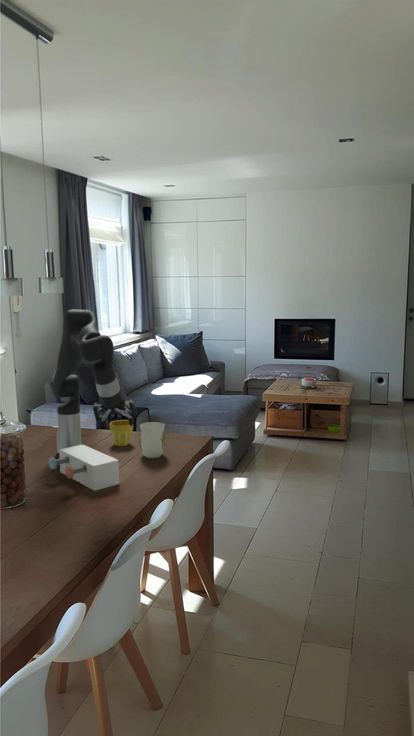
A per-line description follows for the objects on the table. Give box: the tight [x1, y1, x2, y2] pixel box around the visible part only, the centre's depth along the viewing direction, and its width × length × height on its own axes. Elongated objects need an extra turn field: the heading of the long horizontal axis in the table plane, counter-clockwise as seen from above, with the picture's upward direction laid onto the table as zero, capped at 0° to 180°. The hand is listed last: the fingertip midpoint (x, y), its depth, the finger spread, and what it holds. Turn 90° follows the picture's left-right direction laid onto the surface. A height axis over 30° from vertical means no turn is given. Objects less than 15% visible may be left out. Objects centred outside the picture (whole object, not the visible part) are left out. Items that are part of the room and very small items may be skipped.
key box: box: [58, 444, 120, 492], centre depth 214 cm, size 10×26×9 cm, turn 41°
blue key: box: [48, 456, 69, 470], centre depth 214 cm, size 8×4×4 cm, turn 131°
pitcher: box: [138, 421, 167, 459], centre depth 241 cm, size 11×18×14 cm, turn 178°
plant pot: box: [109, 419, 134, 447], centre depth 257 cm, size 10×10×10 cm
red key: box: [65, 465, 86, 479], centre depth 204 cm, size 8×4×4 cm, turn 131°
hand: (119, 425), depth 201 cm, fingers open, 8 cm apart
